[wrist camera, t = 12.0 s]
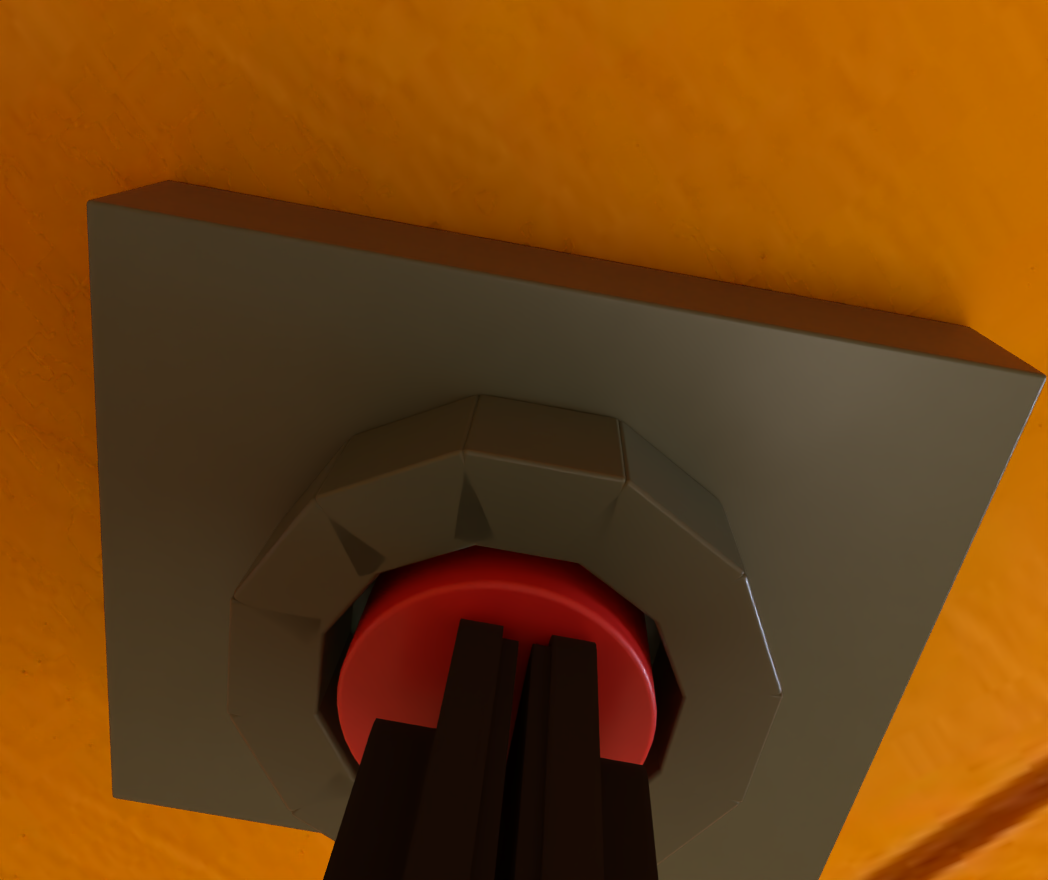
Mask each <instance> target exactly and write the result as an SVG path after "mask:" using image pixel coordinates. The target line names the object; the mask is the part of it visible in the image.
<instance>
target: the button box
mask: <svg viewBox="0 0 1048 880" xmlns="http://www.w3.org/2000/svg"><path fill="white" fill-rule="evenodd" d="M87 224H88V247H89V269H90V292H91V315H92V337H93V360H94V383H95V406H96V428H97V451H98V474H99V496H100V519H101V542H102V564H103V587H104V610H105V632H106V655H107V678H108V701H109V723H110V746H111V769H112V791H113V797H114V798H118V799H124V800H130V801H136V802H141V803H147V804H153V805H159V806H165V807H171V808H177V809H183V810H189V811H195V812H201V813H206V814H212V815H218V816H224V817H230V818H236V819H242V820H248V821H254V822H260V823H266V824H271V825H277V826H283V827H289V828H295V829H301V830H307V831H313V832H319V833H322V834H324V835H326V836H327V837H329V838H331V839H332V840H334V841H336V838H337V835H338V831H339V828H340V825H341V822H342V819H343V816H344V813H345V809H346V806H347V803H348V800H349V797H350V794H351V791H352V787H353V784H354V781H355V778H356V775H357V772H358V769H359V764H358V762H357V761H356V759H355V758H354V756H353V755H352V753H351V751H350V749H349V747H348V745H347V743H346V741H345V738H344V735H343V732H342V729H341V725H340V721H339V715H338V708H337V686H338V680H339V675H340V670H341V668H342V665H343V662H344V659H345V657H346V654H347V652H348V649H349V646H350V644H351V641H352V639H353V636H354V634H355V631H356V629H357V626H358V624H359V621H360V618H361V616H362V613H363V611H364V608H365V606H366V603H367V601H368V598H369V596H370V593H371V590H372V588H373V585H374V583H375V581H376V580H377V578H378V576H379V574H380V573H383V572H386V571H389V570H393V569H396V568H400V567H403V566H406V565H410V564H413V563H417V562H420V561H423V560H427V559H430V558H433V557H437V556H440V555H444V554H447V553H450V552H454V551H457V550H460V549H464V548H467V547H471V546H474V545H477V546H483V547H489V548H494V549H500V550H506V551H511V552H517V553H523V554H529V555H534V556H540V557H546V558H551V559H557V560H563V561H568V562H574V563H579V564H580V565H581V566H583V567H584V568H585V569H587V570H588V571H589V572H591V573H592V574H593V575H595V576H596V577H597V578H599V579H600V580H601V581H603V582H604V583H605V584H607V585H608V586H609V587H611V588H612V589H613V590H614V591H616V592H617V593H618V594H620V595H621V596H622V597H624V598H625V599H626V600H628V601H629V602H630V603H632V604H633V605H634V606H636V607H637V608H638V609H640V610H641V611H642V612H644V615H645V622H646V629H647V637H648V644H649V652H650V659H651V667H652V674H653V682H654V689H655V697H656V706H657V719H656V729H655V734H654V738H653V742H652V745H651V747H650V750H649V752H648V755H647V757H646V759H645V761H644V763H643V765H644V766H645V768H646V771H647V775H648V781H649V790H650V800H651V810H652V820H653V830H654V840H655V850H656V860H657V870H658V880H818V879H819V877H820V875H821V873H822V871H823V868H824V866H825V864H826V862H827V860H828V857H829V855H830V853H831V851H832V849H833V846H834V844H835V842H836V840H837V838H838V835H839V833H840V831H841V829H842V827H843V824H844V822H845V820H846V818H847V816H848V814H849V811H850V809H851V807H852V805H853V803H854V800H855V798H856V796H857V794H858V792H859V789H860V787H861V785H862V783H863V781H864V778H865V776H866V774H867V772H868V770H869V767H870V765H871V763H872V761H873V759H874V756H875V754H876V752H877V750H878V748H879V745H880V743H881V741H882V739H883V737H884V734H885V732H886V730H887V728H888V726H889V723H890V721H891V719H892V717H893V715H894V712H895V710H896V708H897V706H898V704H899V702H900V699H901V697H902V695H903V693H904V691H905V688H906V686H907V684H908V682H909V680H910V677H911V675H912V673H913V671H914V669H915V666H916V664H917V662H918V660H919V658H920V655H921V653H922V651H923V649H924V647H925V644H926V642H927V640H928V638H929V636H930V633H931V631H932V629H933V627H934V625H935V622H936V620H937V618H938V616H939V614H940V611H941V609H942V607H943V605H944V603H945V600H946V598H947V596H948V594H949V592H950V589H951V587H952V585H953V583H954V581H955V579H956V576H957V574H958V572H959V570H960V568H961V565H962V563H963V561H964V559H965V557H966V554H967V552H968V550H969V548H970V546H971V543H972V541H973V539H974V537H975V535H976V532H977V530H978V528H979V526H980V524H981V521H982V519H983V517H984V515H985V513H986V510H987V508H988V506H989V504H990V502H991V499H992V497H993V495H994V493H995V491H996V488H997V486H998V484H999V482H1000V480H1001V477H1002V475H1003V473H1004V471H1005V469H1006V467H1007V464H1008V462H1009V460H1010V458H1011V456H1012V453H1013V451H1014V449H1015V447H1016V445H1017V442H1018V440H1019V438H1020V436H1021V434H1022V431H1023V429H1024V427H1025V425H1026V423H1027V420H1028V418H1029V416H1030V414H1031V412H1032V409H1033V407H1034V405H1035V403H1036V401H1037V398H1038V396H1039V394H1040V392H1041V390H1042V387H1043V385H1044V383H1045V381H1046V375H1045V374H1043V373H1042V372H1040V371H1038V370H1037V369H1035V368H1034V367H1032V366H1031V365H1029V364H1027V363H1026V362H1024V361H1023V360H1021V359H1019V358H1018V357H1016V356H1015V355H1013V354H1011V353H1010V352H1008V351H1007V350H1005V349H1004V348H1002V347H1000V346H999V345H997V344H996V343H994V342H992V341H991V340H989V339H988V338H986V337H985V336H983V335H981V334H980V333H978V332H977V331H975V330H973V329H972V328H970V327H966V326H961V325H955V324H950V323H944V322H939V321H934V320H928V319H923V318H917V317H912V316H906V315H901V314H895V313H890V312H884V311H879V310H874V309H868V308H863V307H857V306H852V305H846V304H841V303H835V302H830V301H824V300H819V299H814V298H808V297H803V296H797V295H792V294H786V293H781V292H775V291H770V290H764V289H759V288H754V287H748V286H743V285H737V284H732V283H726V282H721V281H715V280H710V279H704V278H699V277H693V276H688V275H683V274H677V273H672V272H666V271H661V270H655V269H650V268H644V267H639V266H633V265H628V264H623V263H617V262H612V261H606V260H601V259H595V258H590V257H584V256H579V255H573V254H568V253H563V252H557V251H552V250H546V249H541V248H535V247H530V246H524V245H519V244H513V243H508V242H503V241H497V240H492V239H486V238H481V237H475V236H470V235H464V234H459V233H453V232H448V231H443V230H437V229H432V228H426V227H421V226H415V225H410V224H404V223H399V222H393V221H388V220H383V219H377V218H372V217H366V216H361V215H355V214H350V213H344V212H339V211H333V210H328V209H323V208H317V207H312V206H306V205H301V204H295V203H290V202H284V201H279V200H273V199H268V198H262V197H257V196H252V195H246V194H241V193H235V192H230V191H224V190H219V189H213V188H208V187H202V186H197V185H192V184H186V183H181V182H175V181H170V180H167V181H163V182H159V183H155V184H151V185H148V186H144V187H140V188H136V189H132V190H128V191H124V192H120V193H116V194H112V195H108V196H104V197H100V198H97V199H93V200H89V201H88V202H87Z"/></svg>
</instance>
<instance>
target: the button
mask: <svg viewBox="0 0 1048 880" xmlns="http://www.w3.org/2000/svg"><path fill="white" fill-rule="evenodd" d="M460 619H467V620H473V621H478V622H484V623H490V624H495V625H501V626H504V629H503V637H502V638H505V639H510V640H516V641H519V647H518V657H517V666H516V676H515V685H514V695H513V704H512V714H511V723H510V733H509V742H508V752H507V758H508V754H509V749H510V744H511V740H512V735H513V730H514V726H515V721H516V716H517V712H518V707H519V703H520V698H521V693H522V689H523V684H524V679H525V675H526V670H527V665H528V661H529V656H530V652H531V648H532V644H538V645H544V646H548V645H549V641H550V638H551V636H552V635H557V636H562V637H568V638H574V639H579V640H585V641H590V642H595V643H596V647H597V671H598V703H599V734H600V758H606V759H611V760H617V761H623V762H628V763H634V764H640V765H643V763H644V761H645V759H646V757H647V755H648V752H649V750H650V747H651V745H652V742H653V738H654V734H655V729H656V719H657V706H656V697H655V689H654V682H653V674H652V667H651V659H650V652H649V644H648V637H647V629H646V622H645V615H644V612H642V611H641V610H640V609H638V608H637V607H636V606H634V605H633V604H632V603H630V602H629V601H628V600H626V599H625V598H624V597H622V596H621V595H620V594H618V593H617V592H616V591H614V590H613V589H612V588H611V587H609V586H608V585H607V584H605V583H604V582H603V581H601V580H600V579H599V578H597V577H596V576H595V575H593V574H592V573H591V572H589V571H588V570H587V569H585V568H584V567H583V566H581V565H580V564H579V563H574V562H568V561H563V560H557V559H551V558H546V557H540V556H534V555H529V554H523V553H517V552H511V551H506V550H500V549H494V548H489V547H483V546H477V545H474V546H471V547H467V548H464V549H460V550H457V551H454V552H450V553H447V554H444V555H440V556H437V557H433V558H430V559H427V560H423V561H420V562H417V563H413V564H410V565H406V566H403V567H400V568H396V569H393V570H389V571H386V572H383V573H380V574H379V576H378V578H377V580H376V581H375V583H374V585H373V588H372V590H371V593H370V596H369V598H368V601H367V603H366V606H365V608H364V611H363V613H362V616H361V618H360V621H359V624H358V626H357V629H356V631H355V634H354V636H353V639H352V641H351V644H350V646H349V649H348V652H347V654H346V657H345V659H344V662H343V665H342V668H341V670H340V675H339V680H338V686H337V708H338V715H339V721H340V725H341V729H342V732H343V735H344V738H345V741H346V743H347V745H348V747H349V749H350V751H351V753H352V755H353V756H354V758H355V759H356V761H357V762H358V764H359V765H360V762H361V759H362V756H363V753H364V750H365V747H366V744H367V740H368V737H369V734H370V731H371V728H372V726H373V723H374V721H375V719H376V718H379V719H385V720H390V721H396V722H402V723H407V724H413V725H419V726H424V727H430V728H437V723H438V719H439V714H440V709H441V705H442V700H443V696H444V691H445V687H446V682H447V677H448V673H449V668H450V664H451V659H452V655H453V650H454V645H455V641H456V636H457V632H458V627H459V623H460ZM506 763H507V761H506Z"/></svg>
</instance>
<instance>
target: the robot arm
mask: <svg viewBox="0 0 1048 880" xmlns="http://www.w3.org/2000/svg"><path fill="white" fill-rule="evenodd" d="M503 629H504V626H501V625H495V624H490V623H484V622H478V621H473V620H467V619H460V623H459V627H458V632H457V636H456V641H455V645H454V650H453V655H452V659H451V664H450V668H449V673H448V677H447V682H446V687H445V691H444V696H443V700H442V705H441V709H440V714H439V719H438V723H437V728H430V727H424V726H419V725H413V724H407V723H402V722H396V721H390V720H385V719H379V718H376V719H375V721H374V723H373V726H372V728H371V731H370V734H369V737H368V740H367V744H366V747H365V750H364V753H363V756H362V759H361V762H360V765H359V769H358V772H357V775H356V778H355V781H354V784H353V787H352V791H351V794H350V797H349V800H348V803H347V806H346V809H345V813H344V816H343V819H342V822H341V825H340V828H339V831H338V835H337V838H336V841H335V844H334V847H333V850H332V853H331V857H330V860H329V863H328V866H327V869H326V872H325V875H324V879H323V880H658V870H657V860H656V850H655V840H654V830H653V820H652V810H651V800H650V790H649V781H648V775H647V771H646V768H645V766H644V765H640V764H634V763H628V762H623V761H617V760H611V759H606V758H600V734H599V703H598V671H597V647H596V643H595V642H590V641H585V640H579V639H574V638H568V637H562V636H557V635H552V636H551V638H550V641H549V645H548V646H544V645H538V644H532V648H531V652H530V656H529V661H528V665H527V670H526V675H525V679H524V684H523V689H522V693H521V698H520V703H519V707H518V712H517V716H516V721H515V726H514V730H513V735H512V740H511V744H510V749H509V754H508V758H507V752H508V742H509V733H510V723H511V714H512V704H513V695H514V685H515V676H516V666H517V657H518V647H519V641H516V640H510V639H505V638H502V637H503ZM506 761H507V763H506Z"/></svg>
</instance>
